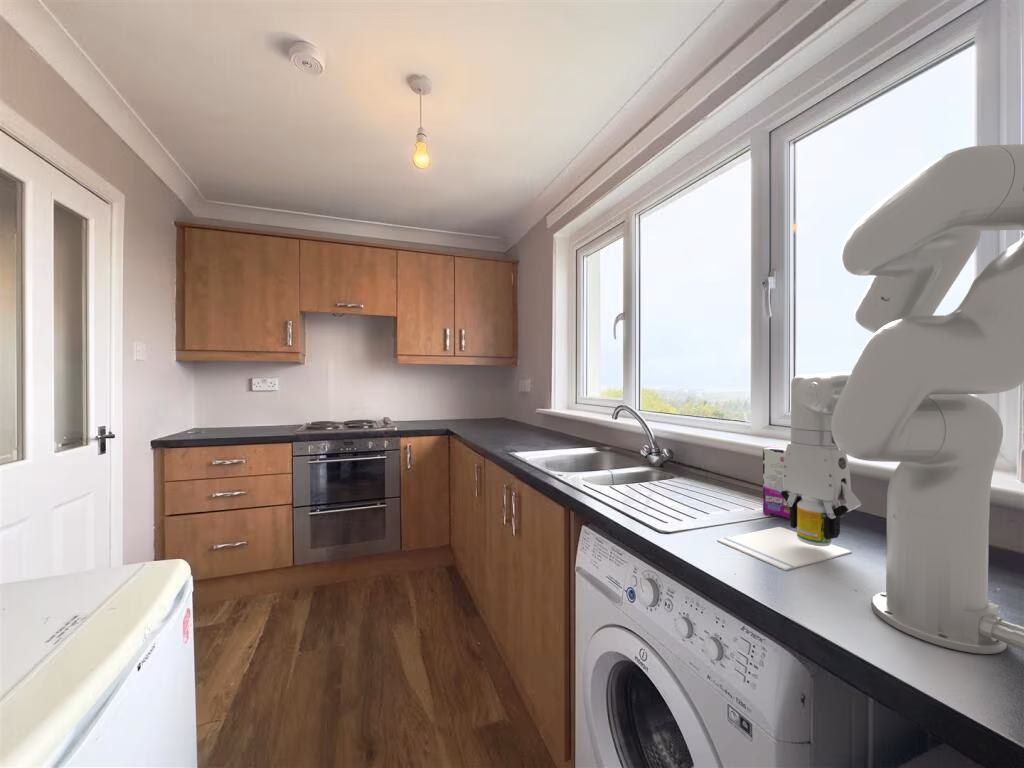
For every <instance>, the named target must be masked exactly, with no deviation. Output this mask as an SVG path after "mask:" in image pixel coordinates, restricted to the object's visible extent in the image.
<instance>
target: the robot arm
mask: <svg viewBox="0 0 1024 768" xmlns="http://www.w3.org/2000/svg"><path fill="white" fill-rule="evenodd" d="M986 231H990V232H991V231H993V232H994V231H995V232H996V231H1021V232H1022V233H1023V234H1024V143H1022V144H1021V143H1020V144H1017V143H1016V144H989V145H988V144H987V145H976V146H974V145H973V146H969V147H964V148H961V149H957V150H954V151H951V152H948V153H946V154H945V155H942V156H941V157H939V158H937V159H935V160H934V161H932V162H930V163H929V164H928V165H926V166H925V167H923V168H922V169H921V170H920V171H918V172H917V173H915V174H914V175H912V176H911V177H910V178H909V179H908V180H906V181H905V182H904V183H902V184H901V185H900V186H899V187H898V188H896V189H894V190H893V191H892V192H890V193H889V194H888V195H887V196H886V197H884V198H883V199H882V200H880V201H879V202H878V203H877V204H875V205H874V206H873V207H872V208H871V209H870V210H868V211H867V212H866V213H865V214H864V215H863V216H862V217H861V218H860V219H859V220H858V221H857V222H856V223H855V225H854V226H853V227H852V228H851V229H850V231H849V232H848V234H847V236H846V238H845V239H844V242H843V245H842V247H841V248H842V249H841V252H840V259H841V260H840V261H841V264H842V266H843V268H844V270H845V271H846V272H848V273H850V274H851V275H853V276H859V277H872V278H871V280H870V282H869V283H868V286H867V288H866V290H865V291H864V293H863V295H862V297H861V299H860V301H859V303H858V304H857V306H856V308H855V311H854V314H853V315H854V319H855V321H856V322H857V323H858V325H860V327H862V328H864V329H865V330H867V331H869V332H871V333H873V334H872V336H871V337H870V338H868V340H867V342H866V344H865V345H864V346H863V348H862V350H861V352H860V354H859V356H858V359H857V360H856V363H855V365H854V367H853V369H852V370H851V371H850V372H849V371H848V372H825V373H824V372H823V373H816V374H798V375H795V376H794V377H793V378H792V380H791V382H790V442H788V443H787V445H786V447H785V448H786V452H785V458H784V465H783V476H782V477H781V478H780V479H779V480H778V481H777V482H775V483H774V486H775V487H776V489H777V490H778V491H779V492H781V495H782V496H783V498H784V499H785V500H786V501H787V505H788V506H789V507H790V519H789V521H790V528H793V529H797V503H798V502H799V501H800V500H803V499H802V497H801V496H802V495H805V496H806V495H808V496H809V497H812V498H815V499H817V500H821V501H823V503H824V506H825V509H826V512H827V517H825V518H824V537H825V538H826V539H831V540H832V539H837V538H838V537H839V535H840V534H841V518H842V517H844V516H845V515H846V514H848V513H850V512H851V511H854V510H855V509H858V508H859V507H861V506H862V502H861V501H860V500H859V498H858V497H857V496H856V495H855V493H854V492H853V491H852V484H851V482H852V481H851V473H850V465H849V460H848V456H850V457H851V458H853V459H855V460H856V459H857V460H862V461H865V462H866V461H867V462H882V463H883V462H884V463H885V462H886V463H890V462H891V463H893V462H894V463H899V464H898V465H897V466H896V468H895V469H894V472H893V473H892V475H891V477H890V479H889V482H888V487H887V495H886V496H887V498H886V555H885V556H886V557H885V559H886V565H885V567H886V568H885V570H886V572H885V573H886V575H885V579H886V580H885V582H886V583H885V591H883V592H879V593H876V594H874V595H873V596H871V609H872V610H873V612H874V613H875V614H876V615H877V616H878V617H879V618H880V619H882V620H883V621H885V622H886V623H888V624H889V625H891V626H892V627H894V628H895V629H897V630H899V631H901V632H903V633H905V634H907V635H910V636H912V637H915V638H917V639H919V640H922V641H924V642H927V643H931V644H934V645H937V646H940V647H943V648H947V649H951V650H955V651H960V652H965V653H971V654H980V655H982V654H983V655H990V654H991V655H992V654H998V653H1002V652H1004V651H1005V650H1006V648H1007V647H1008V646H1007V645H1011V647H1014V648H1015V649H1019V650H1021V651H1023V652H1024V626H1022V625H1019V624H1017V623H1012V622H1009V621H1006V620H1004V617H1003V616H1000V615H999V605H998V604H995V603H993V602H989V543H990V542H989V540H990V539H989V537H990V536H989V535H990V533H989V532H990V531H989V530H990V525H989V524H990V506H991V502H990V501H991V488H992V487H991V485H992V478H993V475H994V471H995V470H994V469H995V465H996V462H997V460H998V456H999V453H1000V450H1001V446H1002V443H1003V439H1004V438H1003V437H1004V427H1003V422H1002V419H1001V417H1000V415H999V413H998V412H997V411H996V409H995V408H994V407H993V406H992V405H990V404H989V403H988V402H986V401H984V400H983V399H981V398H979V397H976V396H974V395H989V394H999V393H1004V392H1009V391H1011V390H1013V389H1016V388H1018V387H1020V386H1021V385H1022V384H1024V235H1023V236H1022V237H1021V238H1020V239H1018V241H1016V242H1015V243H1013V244H1011V245H1010V246H1008V247H1007V248H1006V249H1005V250H1003V251H1002V252H1000V253H999V254H998V255H996V256H995V258H993V259H992V260H990V262H989V263H988V264H987V265H986V266H984V268H983V269H982V270H980V272H979V273H978V275H977V276H976V277H975V278H974V280H973V282H972V284H971V285H970V287H969V288H968V291H967V292H966V294H965V295H964V297H963V299H962V300H961V302H960V303H959V304H958V306H957V307H955V309H954V310H953V311H952V312H950V313H948V314H945V315H943V314H942V315H937V314H936V315H934V314H935V312H936V310H937V309H938V308H939V306H940V305H941V303H942V302H943V300H944V298H945V297H946V296H947V293H948V292H949V291H950V289H951V288H952V286H953V284H954V283H955V281H956V280H957V278H958V277H959V275H960V274H961V272H962V270H963V269H964V268H965V266H966V264H967V263H968V261H969V260H970V258H971V256H972V255H973V253H974V252H975V250H976V249H977V247H978V244H979V243H980V239H981V236H982V232H986ZM840 500H841V501H845V502H844V503H843V504H842V505H841V502H840Z"/></svg>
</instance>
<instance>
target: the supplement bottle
mask: <svg viewBox="0 0 1024 768" xmlns="http://www.w3.org/2000/svg"><path fill="white" fill-rule="evenodd" d="M801 497H802V499H803V500H800V501H799V502H798V503H797V528H796V532H797V537H798V539H799V540H800V541H802V542H804V543H806V544H810V545H814V546H829V545H830V544H832V539H826V538H825V537H824V518H825V517H827V512H826V509H825V506H824V503H823V501H821V500H817V499H815V498H812V497H809V496H808V495H806V496H805V495H802V496H801Z"/></svg>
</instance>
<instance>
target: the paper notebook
mask: <svg viewBox="0 0 1024 768" xmlns="http://www.w3.org/2000/svg"><path fill="white" fill-rule="evenodd" d="M716 541H717V542H718V543H721V544H724V545H726V546H728V547H730V548H732V549H735V550H737V551H740V552H742V553H744V554H746V555H749V556H751V557H753V558H755V559H757V560H760V561H762V562H765V563H767V564H769V565H772V566H774V567H776V568H779V569H781V570H783V571H786V572H787V571H789V570H792V569H796V568H800V567H804V566H808V565H812V564H814V563H815V564H816V563H818V562H823V561H827V560H830V559H834V558H837V557H842V556H845V555H850V554H852V553H853V551H852V550H849V549H847V548H844V547H840V546H838V545H835V544H832V543H831V544H830V545H829V546H814V545H810V544H806V543H804V542H802V541H800V540H799V539H798V537H797V531H793V530H790V529H788V528H785V527H781V526H776V527H772V528H768V529H767V528H766V529H762V530H757V531H753V532H748V533H743V534H737V535H734V536H727V537H722V538H718V539H717V540H716Z"/></svg>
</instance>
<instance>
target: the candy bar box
mask: <svg viewBox="0 0 1024 768" xmlns="http://www.w3.org/2000/svg"><path fill="white" fill-rule="evenodd" d="M786 448H787V447H780V446H779V447H777V446H776V447H775V446H765V447H764V448H763V449H762V513H763V514H764V515H767V516H773V517H777V518H783V519H788V520H790V507H789V506H788V505H787V501H786V500H785V499H784V498H783V496H782V495H781V492H779V491H778V490H777V489H776V487H775V486H774V483H775V482H777V481H778V480H779V479H780V478H781V477H782V476H783V465H784V458H785V452H786Z"/></svg>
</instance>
